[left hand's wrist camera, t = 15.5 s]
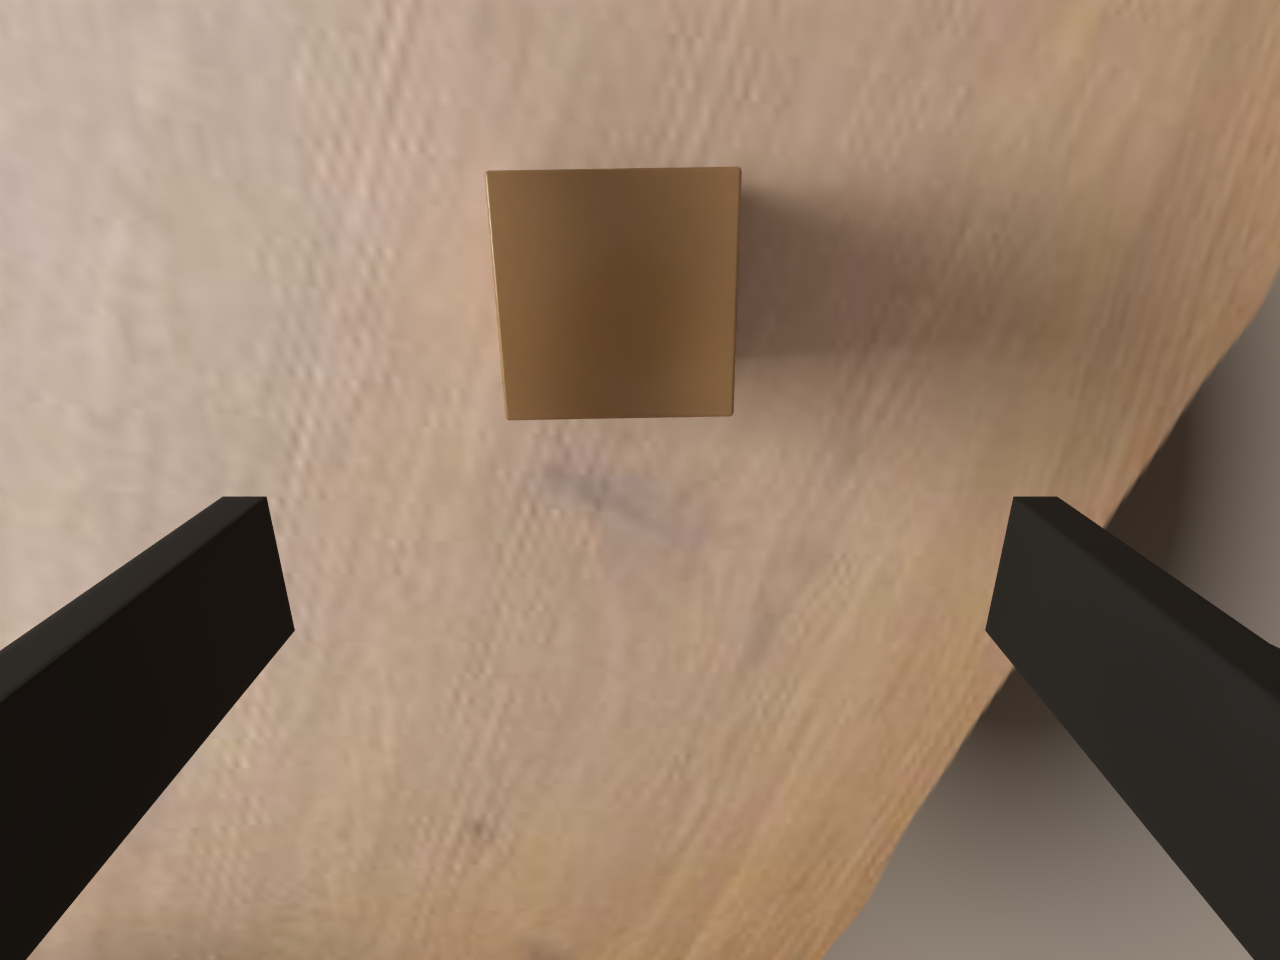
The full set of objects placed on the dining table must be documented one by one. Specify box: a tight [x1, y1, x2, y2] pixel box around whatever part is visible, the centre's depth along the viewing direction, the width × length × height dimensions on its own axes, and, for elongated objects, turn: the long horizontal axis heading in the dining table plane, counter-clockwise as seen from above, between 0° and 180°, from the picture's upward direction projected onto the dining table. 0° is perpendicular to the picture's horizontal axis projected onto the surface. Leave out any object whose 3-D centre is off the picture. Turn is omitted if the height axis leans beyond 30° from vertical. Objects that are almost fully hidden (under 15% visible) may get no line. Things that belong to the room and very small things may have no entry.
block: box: [485, 167, 742, 420], centre depth 22 cm, size 6×6×8 cm
